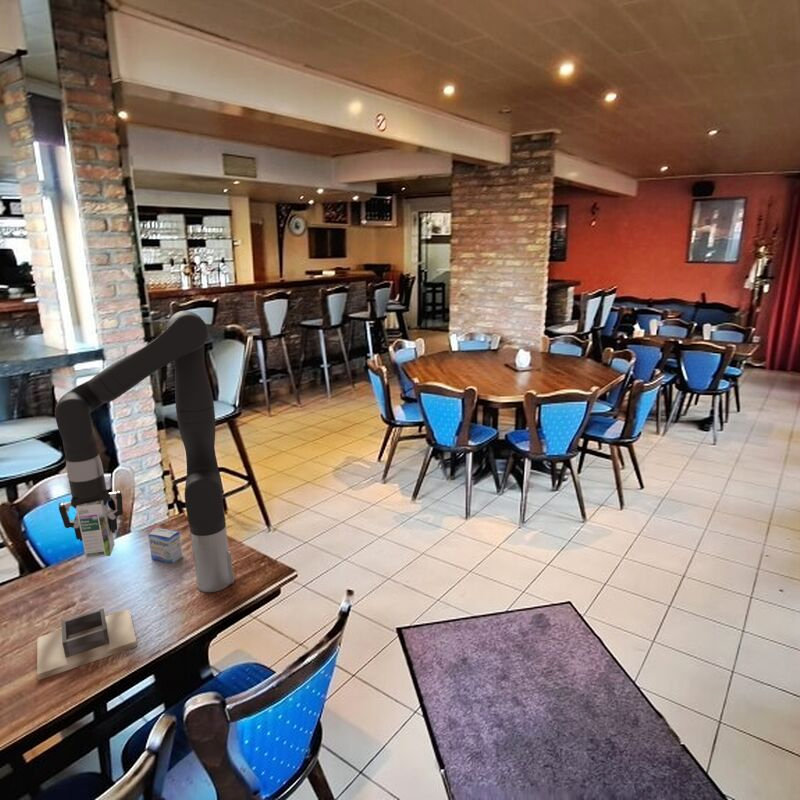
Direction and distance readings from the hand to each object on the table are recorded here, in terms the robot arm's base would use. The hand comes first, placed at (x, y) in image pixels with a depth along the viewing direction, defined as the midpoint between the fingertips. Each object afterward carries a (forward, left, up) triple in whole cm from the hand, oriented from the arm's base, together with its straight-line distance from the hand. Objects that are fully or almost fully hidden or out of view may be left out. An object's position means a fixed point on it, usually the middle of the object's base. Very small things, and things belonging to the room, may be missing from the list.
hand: (97, 535), depth 141 cm
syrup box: (0, 0, -5) cm, 5 cm away
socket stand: (+6, +12, -21) cm, 25 cm away
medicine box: (-17, -18, -22) cm, 33 cm away
